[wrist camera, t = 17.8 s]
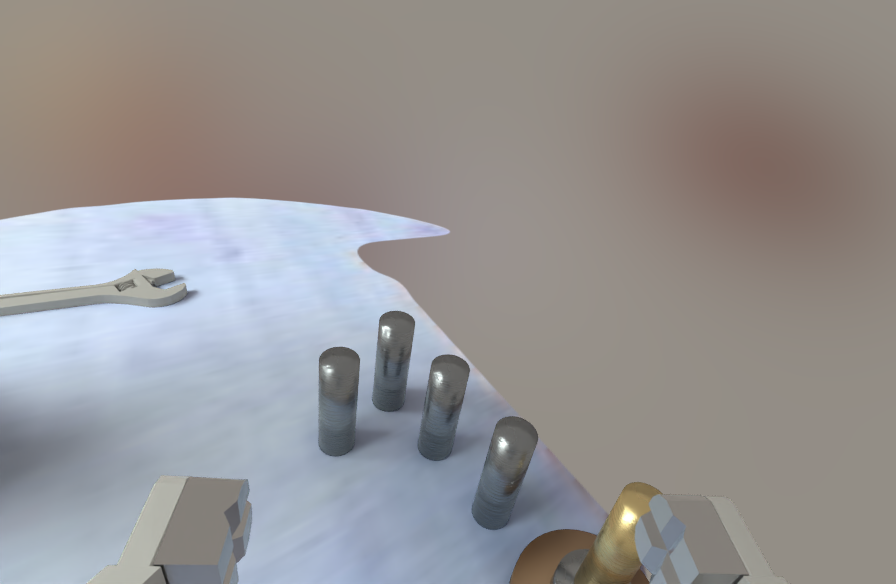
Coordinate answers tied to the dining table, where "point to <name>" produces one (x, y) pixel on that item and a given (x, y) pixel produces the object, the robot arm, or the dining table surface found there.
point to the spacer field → (439, 414)
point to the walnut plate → (554, 556)
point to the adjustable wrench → (100, 294)
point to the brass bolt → (610, 544)
